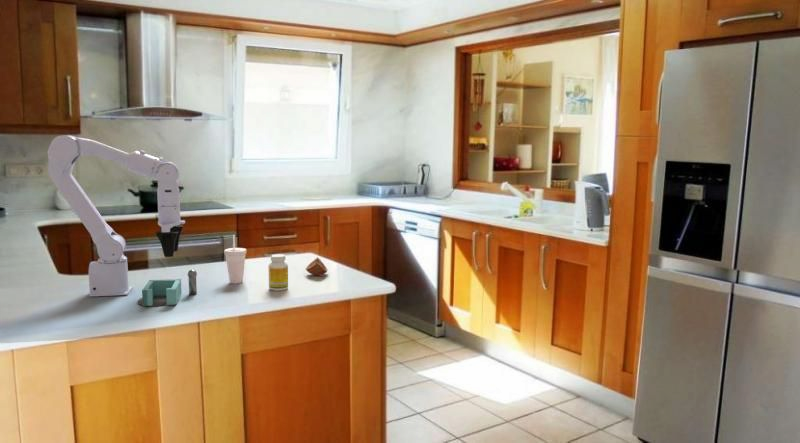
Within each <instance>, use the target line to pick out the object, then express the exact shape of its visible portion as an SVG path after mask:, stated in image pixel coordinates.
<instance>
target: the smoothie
mask: <svg viewBox="0 0 800 443" xmlns="http://www.w3.org/2000/svg"><path fill="white" fill-rule="evenodd" d="M223 251H224V255H225V260H226V268H227V272H228V279H229V280H228V281H229V283H230V284H241V282H242V283H243V282H244V272H245V263H246V255H247V248H244V247H236V235H235V234H232V247H230V248H226V249H224V250H223Z"/></svg>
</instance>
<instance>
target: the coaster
mask: <svg viewBox="0 0 800 443" xmlns="http://www.w3.org/2000/svg"><path fill="white" fill-rule="evenodd" d="M137 305H139V306H141V307H144V306H143V301H142V297H141V298H139V299H138V300H137ZM163 306H168V305H167V296H166V295H158V296H154V297H153V305H152V306H151V307H163Z"/></svg>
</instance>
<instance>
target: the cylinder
mask: <svg viewBox="0 0 800 443" xmlns="http://www.w3.org/2000/svg"><path fill="white" fill-rule="evenodd" d="M197 273H198V272H197V271H196V270H194V269H190V270H189V271H187V276H188V278H187V279H188V294H189V295H191V296H194V295H195V296H196V295H197V293H198V292H197V275H198V274H197Z"/></svg>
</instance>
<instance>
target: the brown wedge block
mask: <svg viewBox="0 0 800 443" xmlns="http://www.w3.org/2000/svg"><path fill="white" fill-rule="evenodd" d="M305 270H306V272H307V273H309V274H311V275H314V276H322V275H325V274H326V273H327V272H328V268H327V266H326V265H325V264H324V262H322V260H321V258H319V257H316V258H314V259H313V260H312V261H311V262H310V263H309V264H308V265H307V266H306V267H305Z"/></svg>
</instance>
